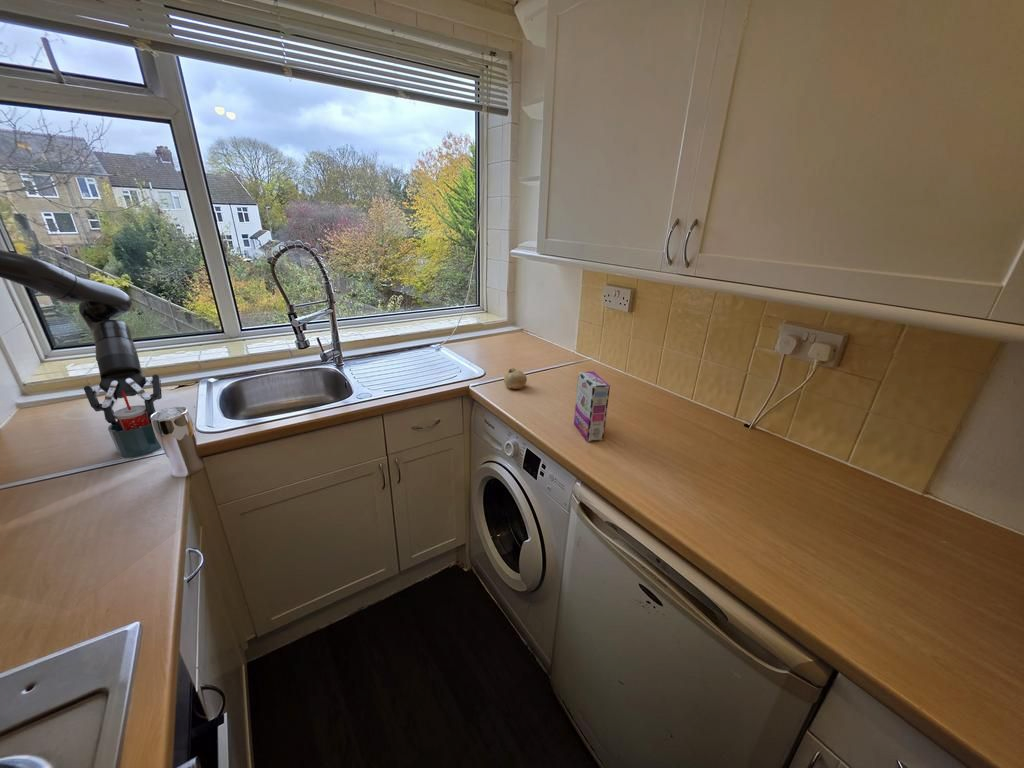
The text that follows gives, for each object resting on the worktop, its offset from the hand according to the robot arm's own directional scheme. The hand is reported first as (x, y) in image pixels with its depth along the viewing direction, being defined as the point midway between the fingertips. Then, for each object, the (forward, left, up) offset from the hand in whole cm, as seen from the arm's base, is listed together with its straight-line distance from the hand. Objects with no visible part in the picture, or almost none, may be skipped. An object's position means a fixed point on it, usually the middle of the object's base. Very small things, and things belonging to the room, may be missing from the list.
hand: (132, 419), depth 97 cm
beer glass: (+1, -17, -10) cm, 19 cm away
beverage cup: (+1, +2, -8) cm, 8 cm away
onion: (+81, -65, -10) cm, 104 cm away
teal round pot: (+1, +1, -10) cm, 10 cm away
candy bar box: (+61, -97, -10) cm, 115 cm away
